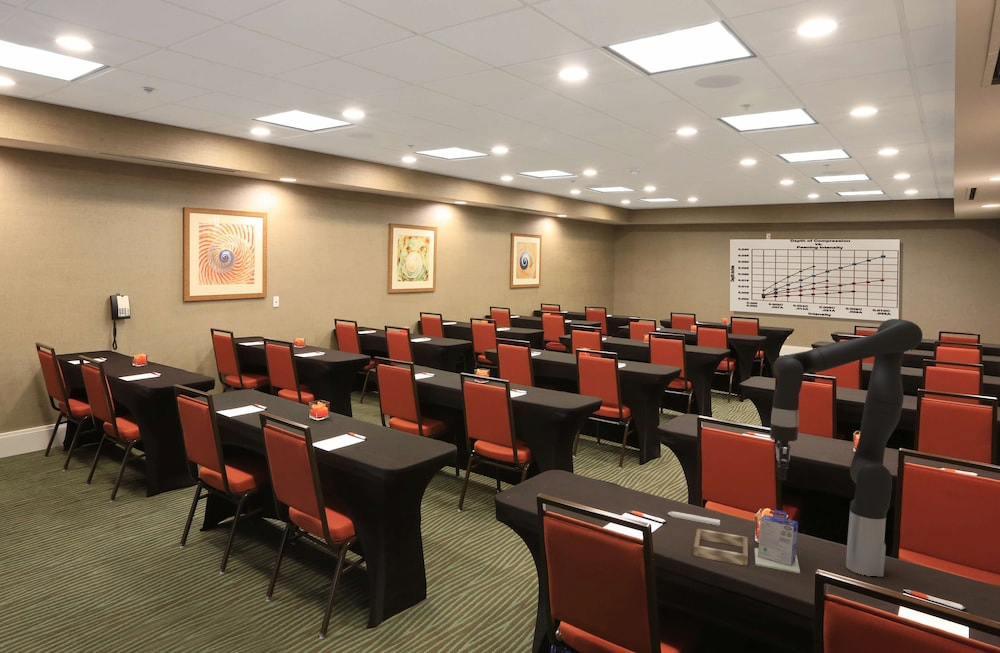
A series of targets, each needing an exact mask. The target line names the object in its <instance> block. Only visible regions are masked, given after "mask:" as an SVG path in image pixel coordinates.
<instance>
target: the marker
mask: <svg viewBox="0 0 1000 653" xmlns="http://www.w3.org/2000/svg"><path fill="white" fill-rule="evenodd" d="M667 515H668V516H670V518H675V519H679V520H681V519H682V520H685V521H691V522H697V523H702V524H707V525H711V524H712V525H713V526H717V527H720V526H721V520H720V519H717V518H710V517H707V516H706V517H704V516H701V515H695V514H691V513H690V514H689V513H684V512H679V511H669V512H667Z"/></svg>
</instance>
